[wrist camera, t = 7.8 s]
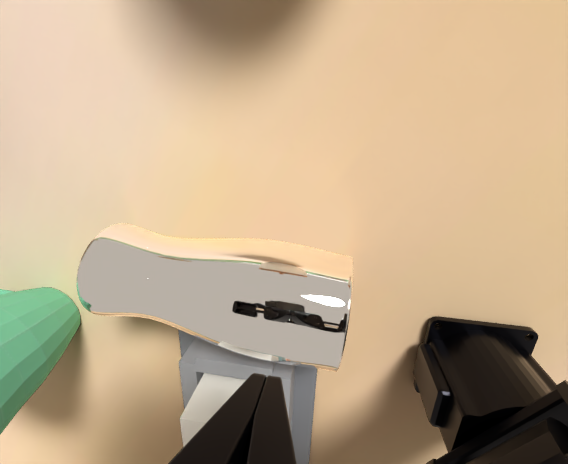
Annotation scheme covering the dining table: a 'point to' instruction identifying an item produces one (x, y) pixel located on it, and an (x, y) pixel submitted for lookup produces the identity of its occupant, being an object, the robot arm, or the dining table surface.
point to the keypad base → (227, 363)
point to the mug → (31, 342)
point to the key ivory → (206, 402)
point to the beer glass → (225, 291)
